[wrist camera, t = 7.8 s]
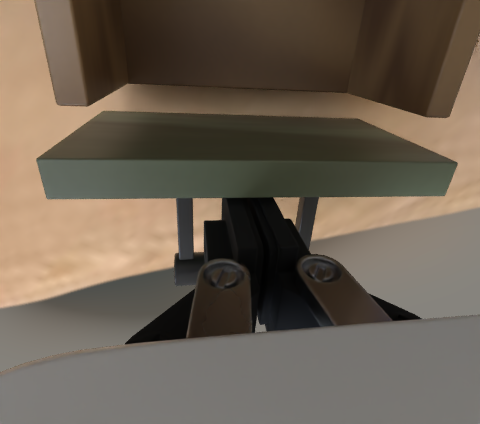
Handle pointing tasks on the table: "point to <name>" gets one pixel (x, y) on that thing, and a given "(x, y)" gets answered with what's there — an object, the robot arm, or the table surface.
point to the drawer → (251, 77)
